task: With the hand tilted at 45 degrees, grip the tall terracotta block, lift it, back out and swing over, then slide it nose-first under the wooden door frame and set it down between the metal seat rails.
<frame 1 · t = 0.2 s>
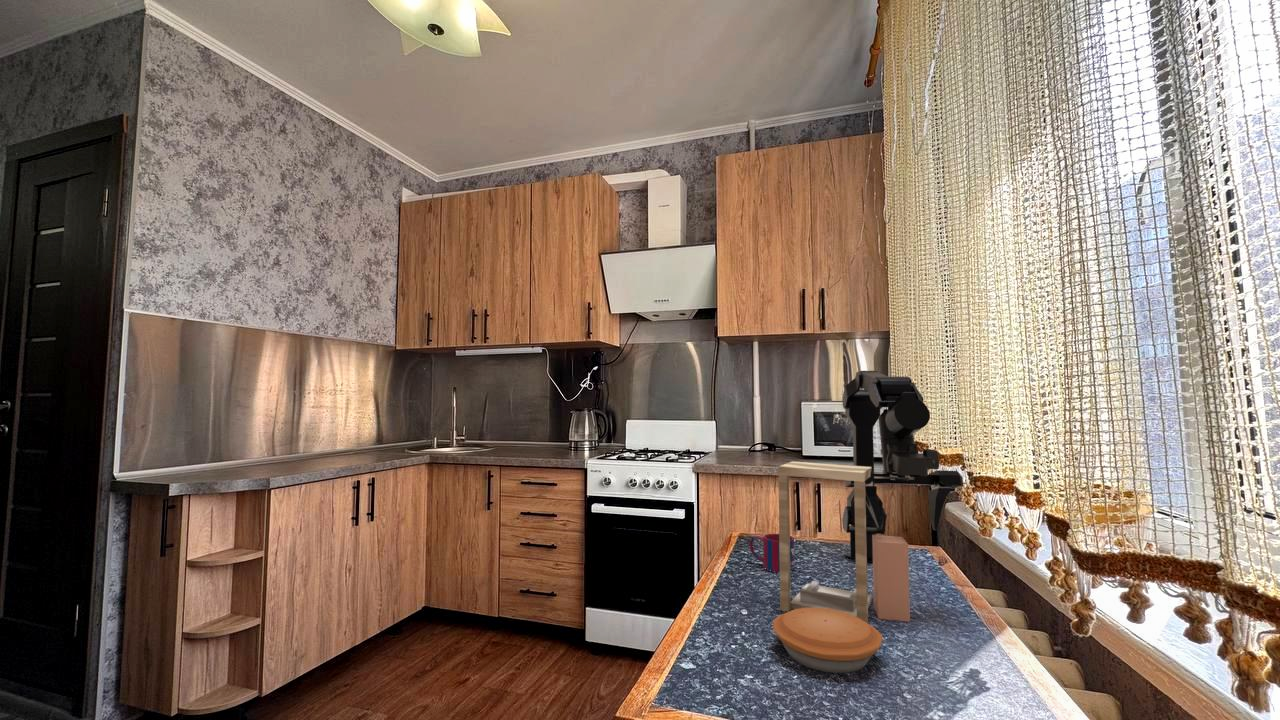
hand: (907, 528, 97), 15 cm above the table, tool tilted 15°, fingers open, 9 cm apart
pie: (826, 656, 81), on the table
mug: (772, 567, 122), on the table
block: (891, 614, 96), on the table
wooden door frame: (831, 604, 101), on the table
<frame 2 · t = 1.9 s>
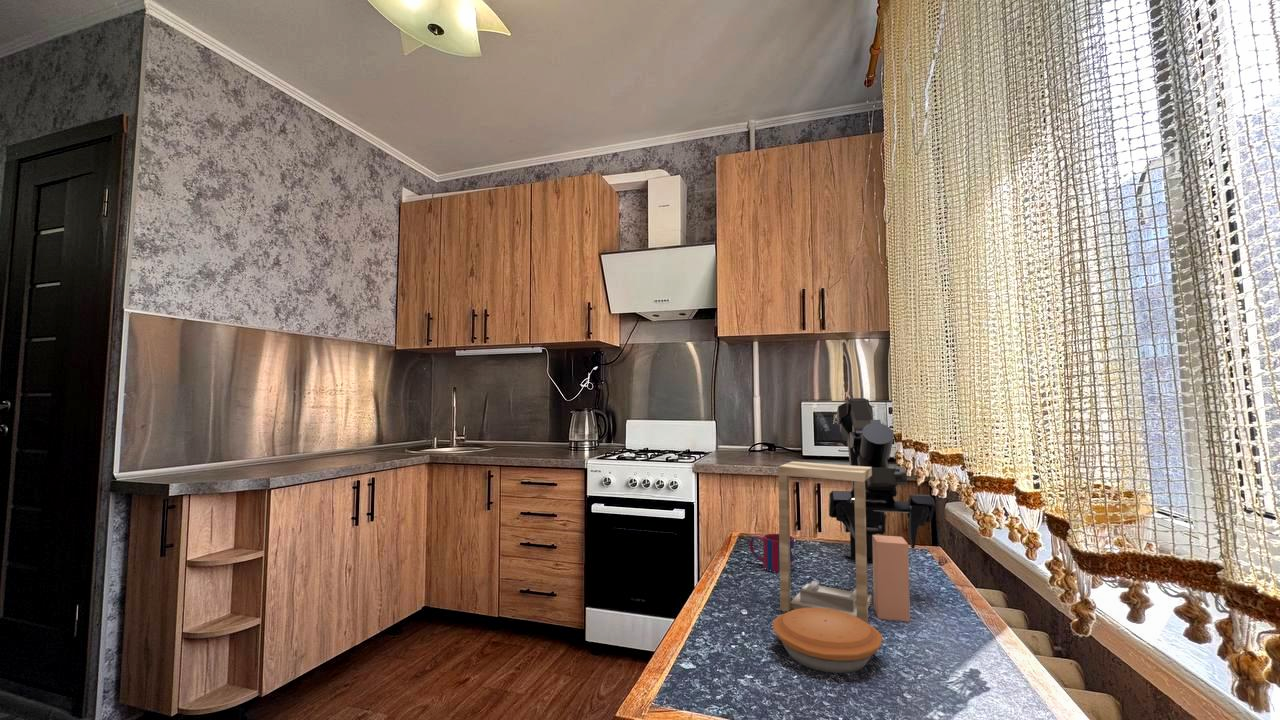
hand: (886, 545, 101), 11 cm above the table, tool tilted 45°, fingers open, 9 cm apart
nothing on the table moved.
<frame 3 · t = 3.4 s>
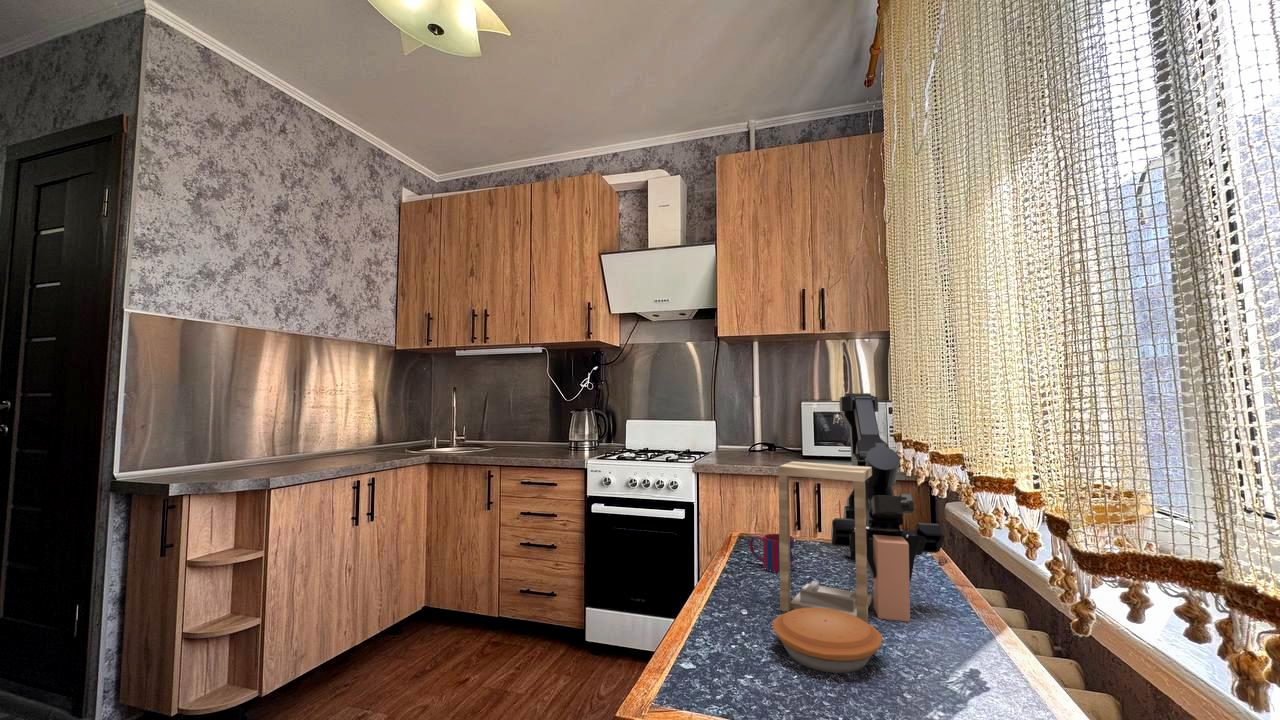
hand: (892, 578, 95), 7 cm above the table, tool tilted 45°, fingers closed on block, 5 cm apart
block: (891, 614, 96), on the table, touching gripper
everything else where it was.
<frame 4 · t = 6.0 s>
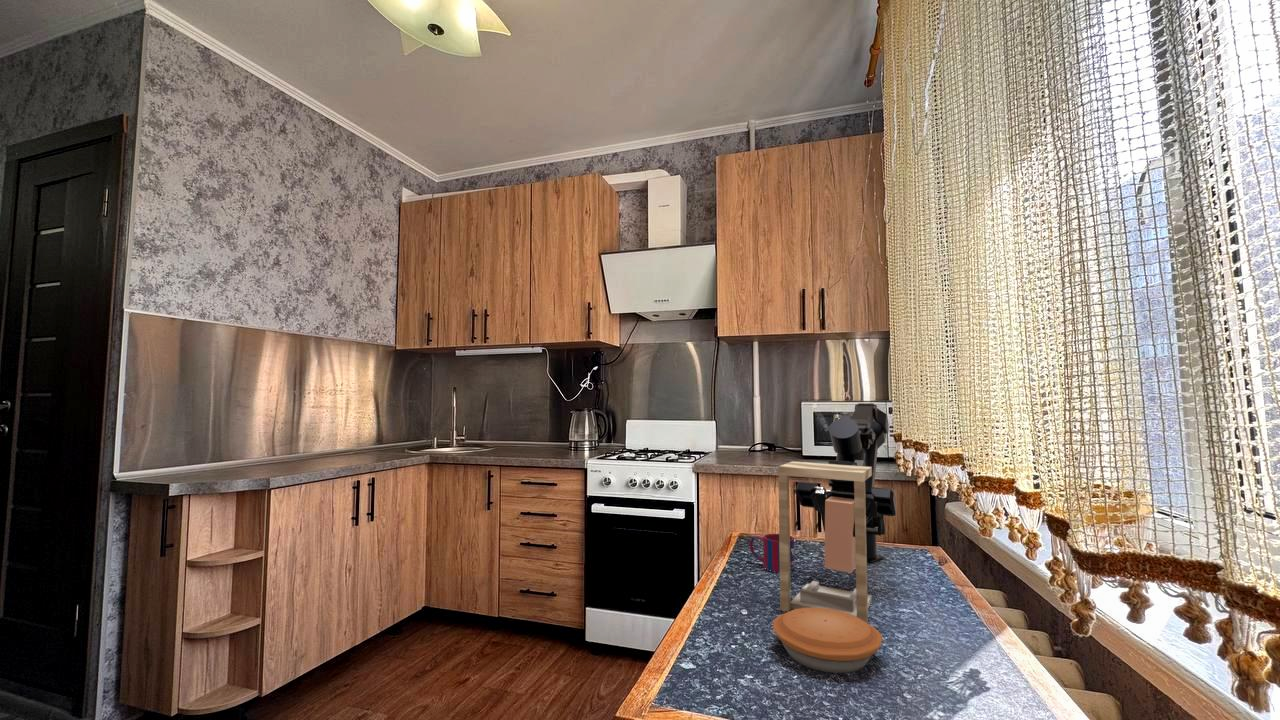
hand: (839, 534, 106), 11 cm above the table, tool tilted 45°, fingers closed on block, 5 cm apart
block: (840, 566, 107), point 5 cm above the table, touching gripper
everything else where it was.
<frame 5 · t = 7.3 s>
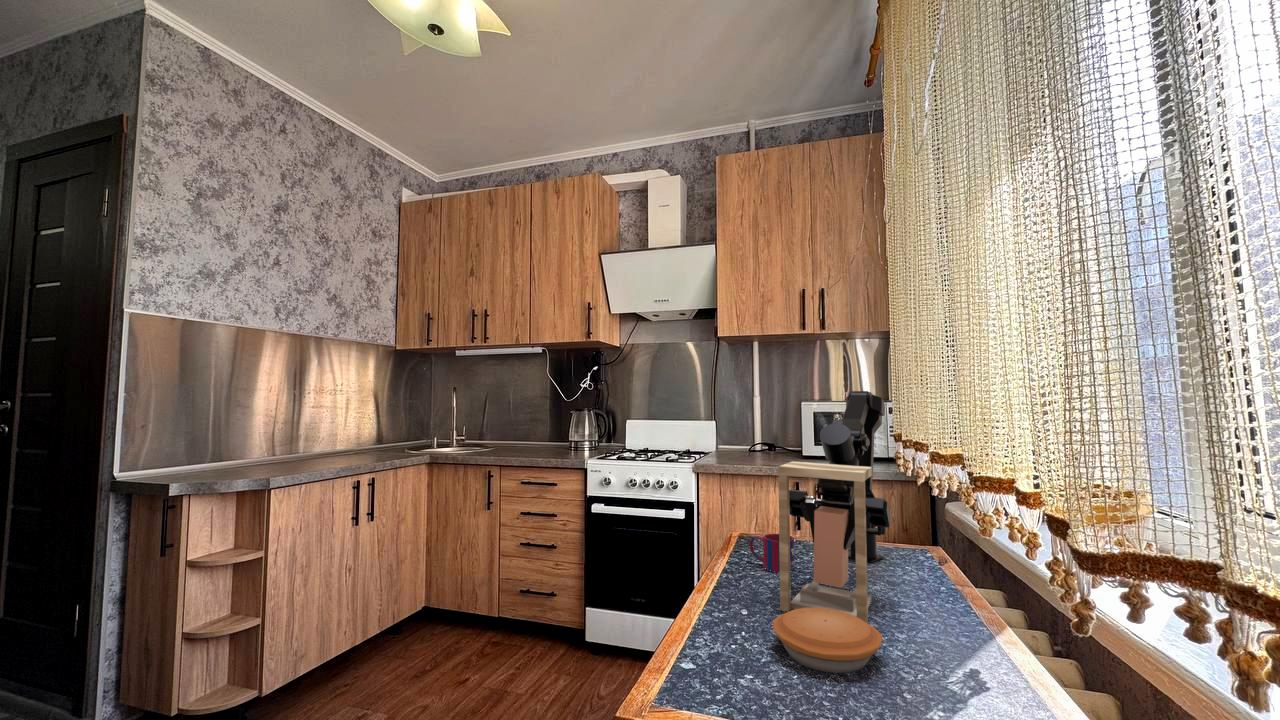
hand: (829, 546, 100), 11 cm above the table, tool tilted 45°, fingers closed on block, 5 cm apart
block: (830, 580, 101), point 4 cm above the table, touching gripper
everything else where it was.
when the fingers open (9 cm above the table, at t = 8.2 s): block drops 2 cm, resting on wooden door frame.
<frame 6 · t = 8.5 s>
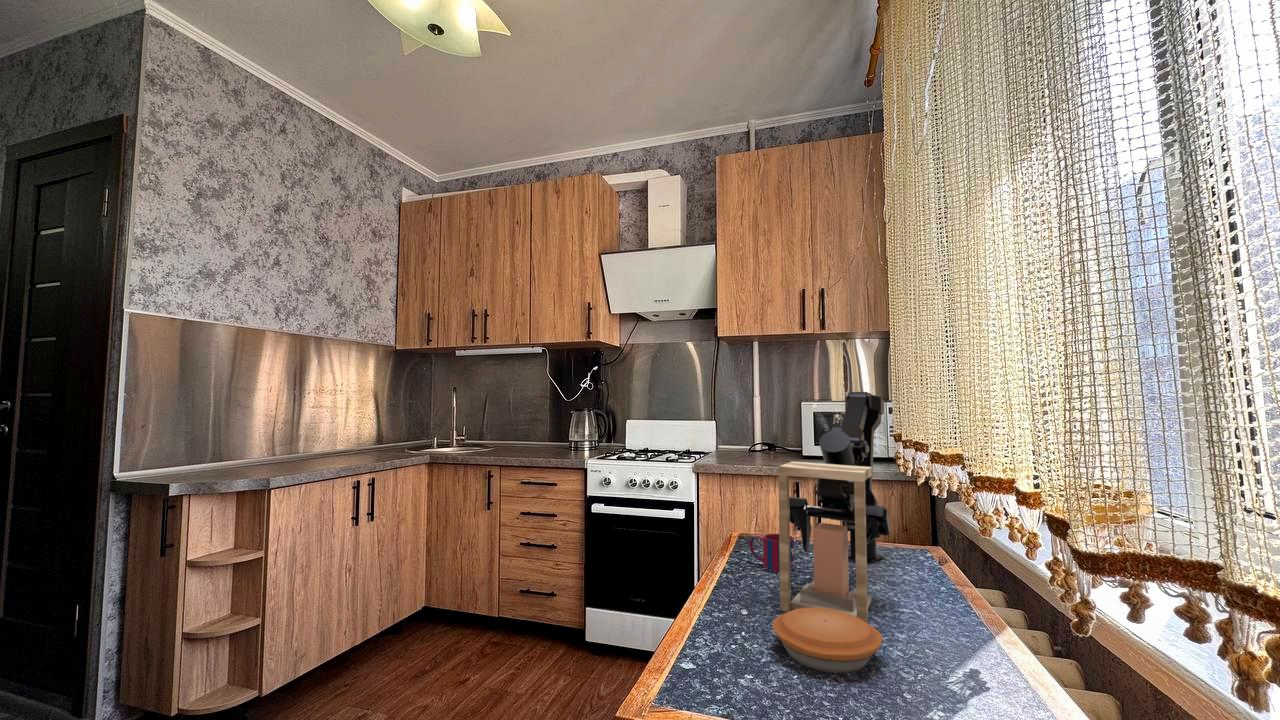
hand: (829, 554, 100), 9 cm above the table, tool tilted 45°, fingers open, 8 cm apart
block: (831, 598, 101), point 1 cm above the table, touching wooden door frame
everything else where it was.
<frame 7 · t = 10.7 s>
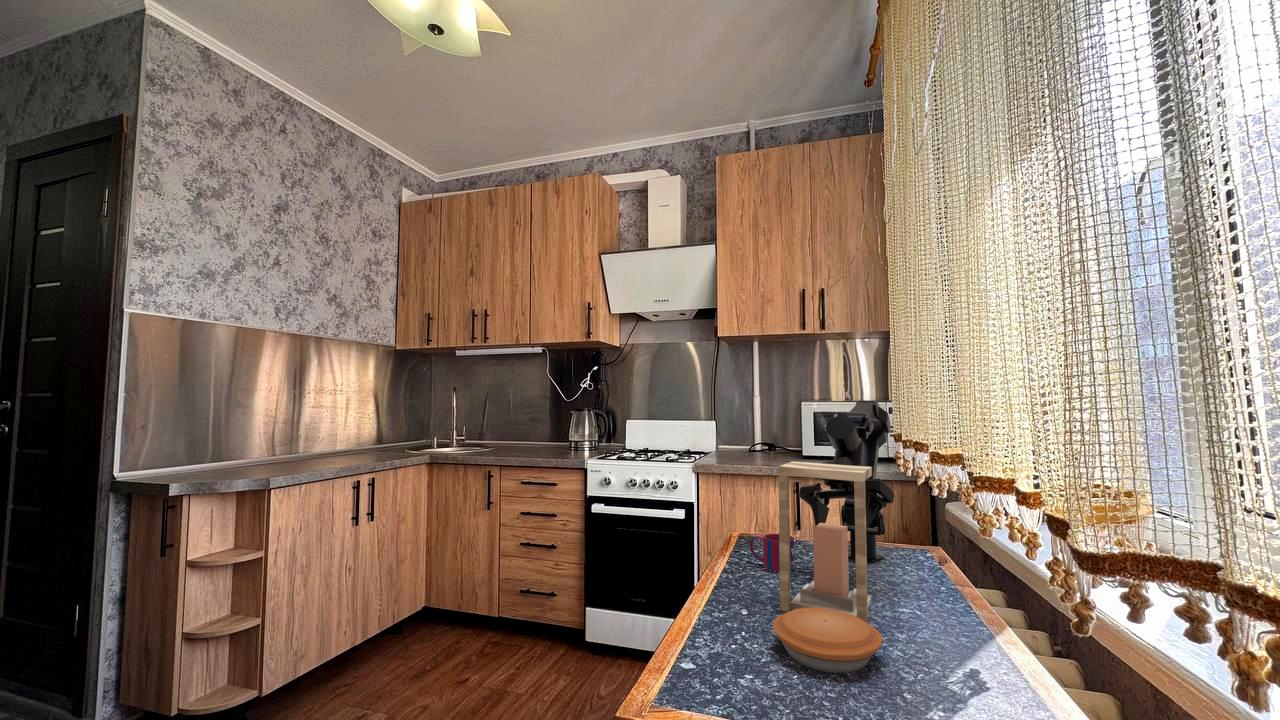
hand: (839, 532, 109), 11 cm above the table, tool tilted 35°, fingers open, 9 cm apart
nothing on the table moved.
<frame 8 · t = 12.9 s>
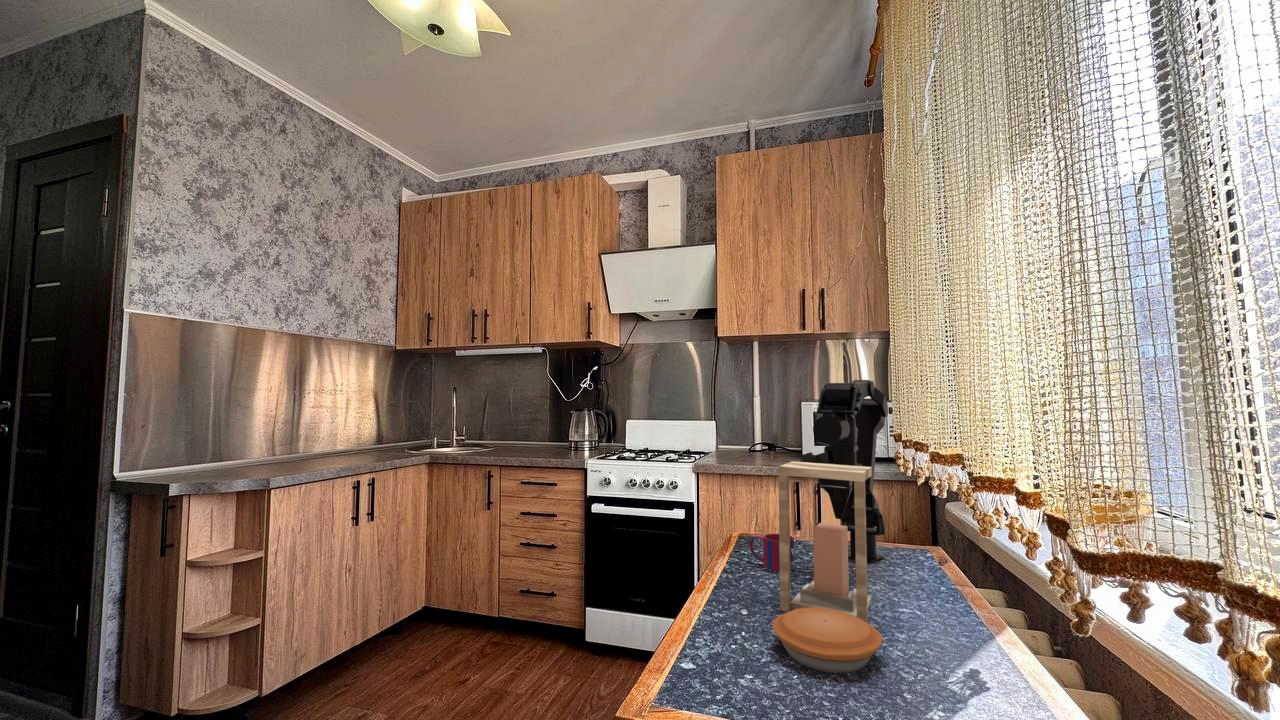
hand: (843, 514, 116), 13 cm above the table, tool pointing down, fingers open, 9 cm apart
nothing on the table moved.
at the end: block 0.0 cm off-centre on the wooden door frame, point 1.0 cm above the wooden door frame's base; block tilted 0°; the gripper is holding nothing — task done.
